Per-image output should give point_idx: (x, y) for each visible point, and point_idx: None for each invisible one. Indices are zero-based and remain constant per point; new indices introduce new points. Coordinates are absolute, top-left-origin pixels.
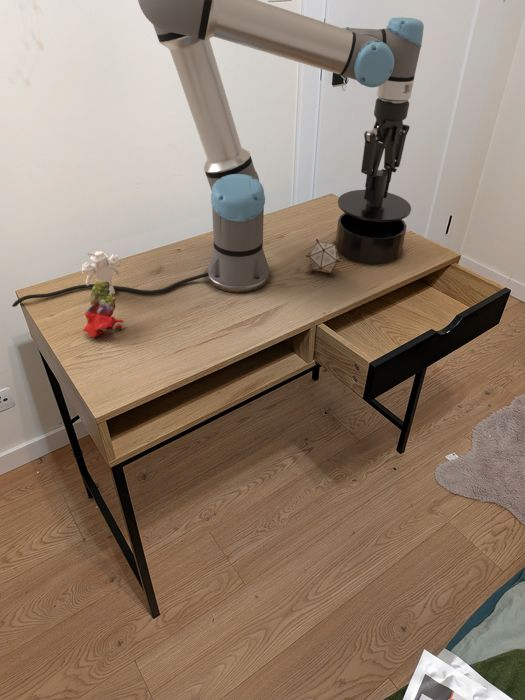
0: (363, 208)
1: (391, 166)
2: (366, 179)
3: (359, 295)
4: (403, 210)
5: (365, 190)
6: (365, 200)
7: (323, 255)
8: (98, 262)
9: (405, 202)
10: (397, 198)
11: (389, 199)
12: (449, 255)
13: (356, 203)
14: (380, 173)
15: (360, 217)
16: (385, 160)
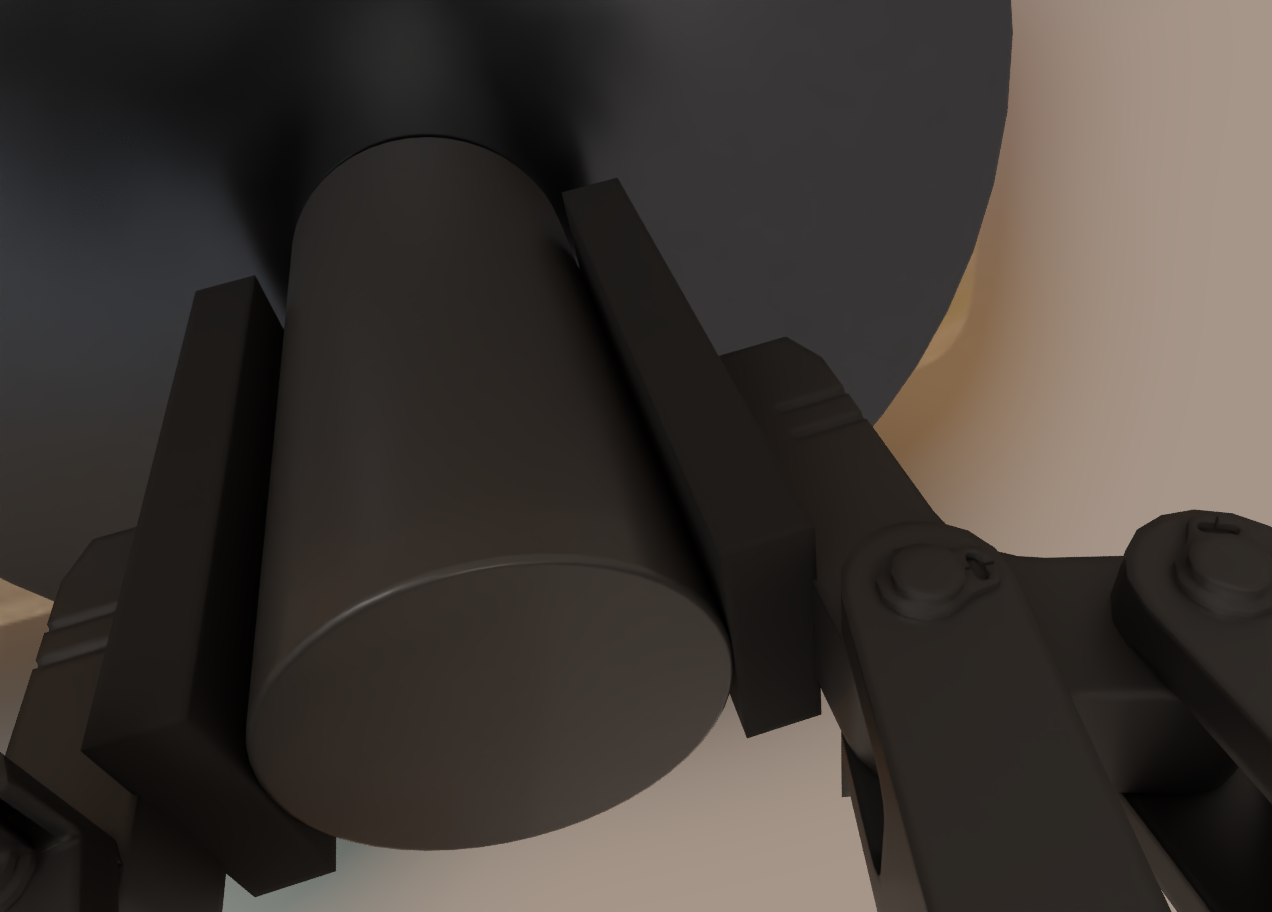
0: (154, 370)
1: (868, 864)
2: (22, 724)
3: (40, 596)
4: None
5: (170, 398)
6: (341, 90)
7: None
8: None
9: (894, 344)
10: (916, 196)
11: (782, 190)
12: (928, 355)
13: (78, 160)
14: (501, 755)
15: (2, 572)
16: (909, 891)
